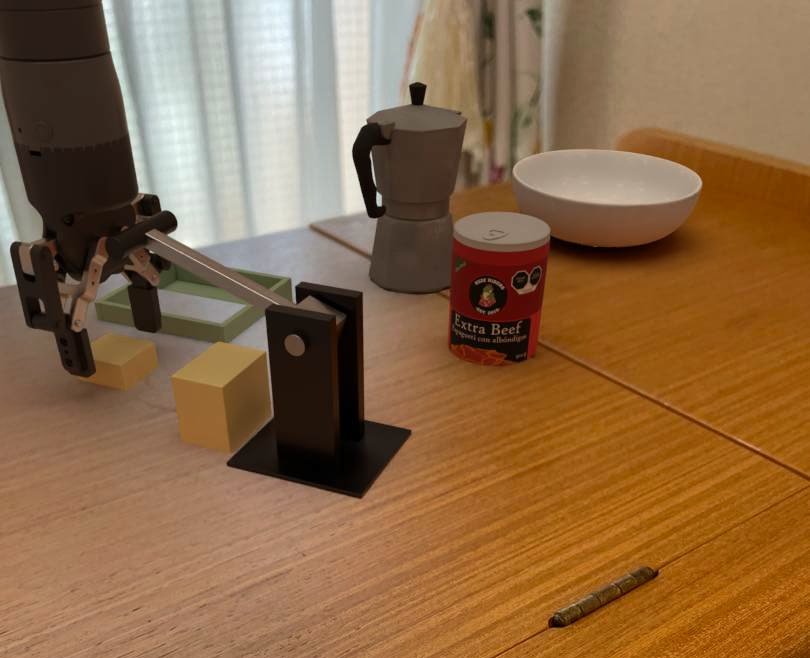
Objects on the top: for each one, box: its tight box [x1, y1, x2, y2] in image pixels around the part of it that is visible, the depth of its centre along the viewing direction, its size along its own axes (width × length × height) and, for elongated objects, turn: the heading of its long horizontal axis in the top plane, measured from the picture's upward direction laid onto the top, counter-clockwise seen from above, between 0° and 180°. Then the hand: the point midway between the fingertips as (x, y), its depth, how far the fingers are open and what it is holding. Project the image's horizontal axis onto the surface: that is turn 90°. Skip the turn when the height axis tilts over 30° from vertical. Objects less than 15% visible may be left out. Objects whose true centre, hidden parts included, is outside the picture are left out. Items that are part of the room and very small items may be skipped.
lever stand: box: [226, 280, 413, 500], centre depth 58 cm, size 10×9×12 cm
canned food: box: [447, 211, 551, 367], centre depth 72 cm, size 8×8×11 cm
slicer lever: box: [105, 209, 347, 345], centre depth 56 cm, size 15×6×2 cm, turn 68°
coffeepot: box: [351, 81, 468, 294], centre depth 83 cm, size 15×9×18 cm, turn 142°
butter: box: [170, 342, 273, 454], centre depth 62 cm, size 4×6×6 cm, turn 158°
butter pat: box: [76, 332, 160, 391], centre depth 69 cm, size 4×4×3 cm
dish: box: [93, 263, 294, 344], centre depth 80 cm, size 13×12×2 cm
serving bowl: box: [511, 148, 703, 248], centre depth 99 cm, size 21×21×7 cm
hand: (117, 351), depth 68 cm, fingers open, 8 cm apart
